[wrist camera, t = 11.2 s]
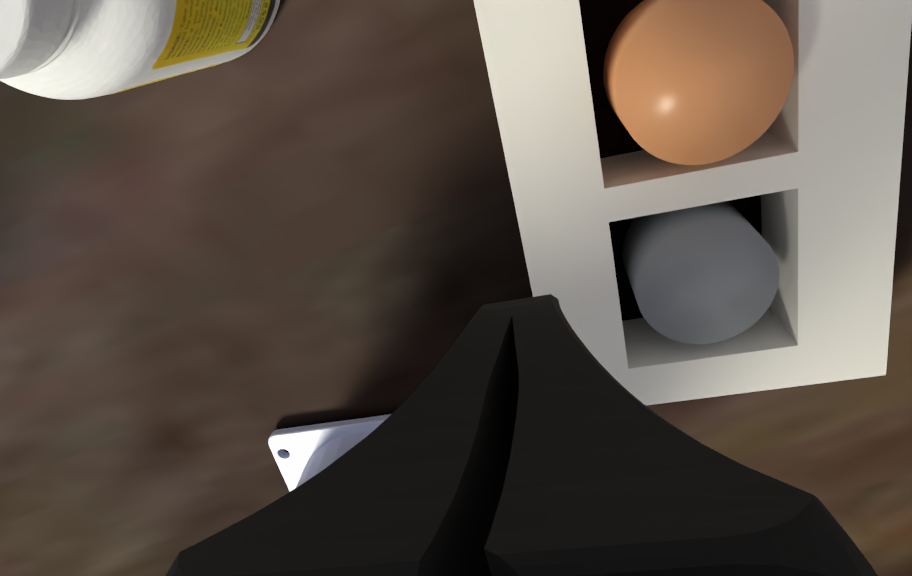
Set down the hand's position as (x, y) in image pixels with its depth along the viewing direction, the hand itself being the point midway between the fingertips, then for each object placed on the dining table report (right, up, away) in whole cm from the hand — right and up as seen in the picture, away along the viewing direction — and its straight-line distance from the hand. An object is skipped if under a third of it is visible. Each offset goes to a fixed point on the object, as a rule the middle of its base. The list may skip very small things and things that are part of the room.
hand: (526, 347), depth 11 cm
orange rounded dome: (+5, +7, +6) cm, 11 cm away
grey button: (+6, +2, +10) cm, 12 cm away
